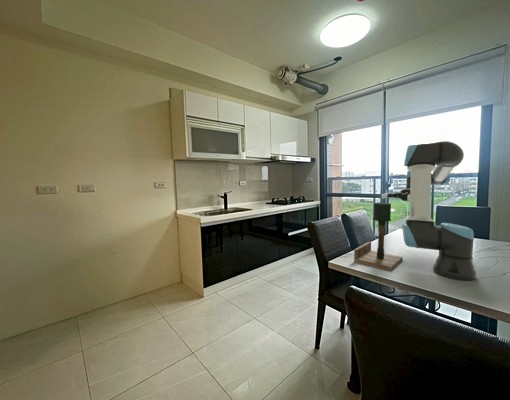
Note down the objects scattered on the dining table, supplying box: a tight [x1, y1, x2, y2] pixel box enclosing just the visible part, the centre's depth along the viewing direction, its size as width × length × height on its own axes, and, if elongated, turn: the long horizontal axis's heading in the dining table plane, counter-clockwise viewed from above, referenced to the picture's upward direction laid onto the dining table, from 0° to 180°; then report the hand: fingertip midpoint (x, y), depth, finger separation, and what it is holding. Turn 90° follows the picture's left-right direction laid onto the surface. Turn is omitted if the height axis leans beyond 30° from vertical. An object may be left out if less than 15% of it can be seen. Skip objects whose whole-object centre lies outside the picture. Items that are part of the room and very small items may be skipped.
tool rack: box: [353, 241, 403, 272], centre depth 124 cm, size 20×18×7 cm
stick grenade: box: [372, 202, 392, 259], centre depth 122 cm, size 8×9×30 cm
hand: (394, 197), depth 133 cm, fingers open, 13 cm apart
